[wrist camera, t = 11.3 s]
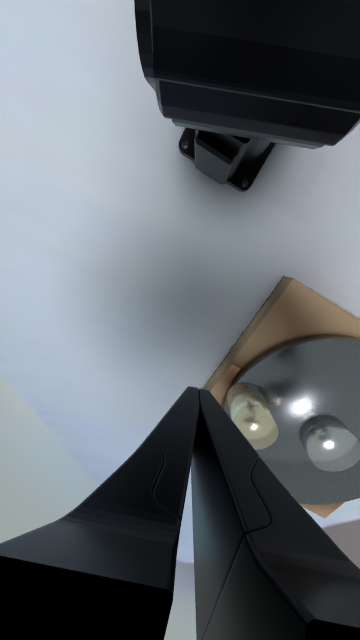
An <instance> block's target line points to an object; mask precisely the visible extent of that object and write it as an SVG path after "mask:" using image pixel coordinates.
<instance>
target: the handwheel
mask: <svg viewBox="0 0 360 640" xmlns="http://www.w3.org/2000/svg"><path fill="white" fill-rule="evenodd" d="M221 407H222V408H223V409H224V410H225V412H226V413H227V414H228V416H229V417H230V418H231V419H232V421H233V422H234V423H235V425H236V426H237V427H238V429H239V430H240V431H241V432H242V434H243V435H244V436H245V438H246V439H247V440H248V441H249V443H250V444H251V445H252V447H253V448H254V449H255V451H256V452H257V453H258V454H259V457H261V458H262V459H263V461H264V462H265V463H266V465H267V466H268V467H269V468H270V470H271V471H272V472H273V473H274V475H275V476H276V477H277V478H278V480H279V481H280V482H281V483H282V485H283V486H284V487H285V488H286V489H287V490H288V491H289V493H290V494H291V495H292V496H293V497H294V498H295V499H296V501H297V502H298V503H299V504H309V505H325V504H334V503H341V502H346V501H350V500H354V499H357V498H360V338H356V337H352V336H344V335H327V334H323V335H313V336H307V337H302V338H297V339H294V340H291V341H288V342H285V343H282V344H279V345H277V346H275V347H273V348H271V349H269V350H267V351H266V352H264V353H262V354H261V355H259V356H257V357H256V358H255V359H254V360H252V361H251V362H250V363H249V364H247V365H246V366H245V367H244V368H243V369H242V370H241V371H240V372H239V373H238V375H237V376H236V377H235V379H234V380H233V381H232V383H231V384H230V386H229V388H228V390H227V392H226V394H225V397H224V399H223V402H222V406H221Z"/></svg>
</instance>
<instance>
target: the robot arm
mask: <svg viewBox="0 0 360 640" xmlns="http://www.w3.org/2000/svg"><path fill="white" fill-rule="evenodd" d="M134 2H135V19H136V32H137V40H138V49H139V55H140V61H141V66H142V70H143V73H144V77H145V79H146V80H147V82H148V83H149V84H150V86H151V87H152V88H153V89H154V90H155V91H156V95H157V101H158V105H159V109H160V111H161V113H162V114H163V116H164V118H169V119H172V122H173V123H174V124H175V125H176V126H180V127H186V128H185V130H184V132H183V134H182V137H181V139H180V141H179V150H180V152H181V153H182V154H183V155H185V156H186V157H188V158H189V159H191V160H193V161H194V162H195V166H196V168H197V169H199V170H200V171H202V172H203V173H205V174H207V175H208V176H210V177H211V178H213V179H214V180H216V181H218V182H219V183H221V184H223V183H226V182H227V183H228V184H230V185H232V186H233V187H235V188H236V189H238V190H239V191H242V192H245V191H247V190H248V189H249V188H250V186H251V185H252V183H253V181H254V180H255V178H256V176H257V174H258V173H259V171H260V169H261V168H262V166H263V164H264V162H265V161H266V159H267V157H268V156H269V154H270V152H271V151H272V149H273V147H274V145H275V144H276V143H280V144H286V145H292V146H297V147H303V148H309V149H316V148H320V147H323V146H324V145H328V146H334V145H335V144H337V143H338V142H339V141H341V140H342V139H343V138H344V137H345V136H347V135H348V134H349V133H350V132H351V131H352V130H353V129H354V128H355V127H356V126H357V125H358V124H359V123H360V0H134ZM185 143H186V144H188V147H187V148H186V149H184V148H183V147H182V145H183V144H185ZM244 181H245V182H246V183H247V186H246V187H243V186H242V182H244ZM190 467H191V483H192V513H193V543H194V571H195V572H194V573H195V603H196V634H197V640H360V569H359V568H358V567H357V566H356V565H355V564H354V563H353V562H352V561H351V560H350V559H349V558H348V557H347V556H346V555H345V554H344V553H343V552H342V551H341V549H340V548H339V547H338V546H337V545H336V544H335V543H334V542H333V541H332V540H331V538H330V537H329V536H328V535H327V534H326V533H325V532H324V531H323V530H322V528H321V527H320V526H319V525H318V524H317V523H316V522H315V521H314V520H313V518H312V517H311V516H310V515H309V514H308V513H307V512H306V511H305V510H304V508H303V507H302V506H301V505H300V504H299V503H298V502H297V501H296V499H295V498H294V497H293V496H292V495H291V494H290V493H289V491H288V490H287V489H286V488H285V487H284V486H283V485H282V483H281V482H280V481H279V480H278V478H277V477H276V476H275V475H274V473H273V472H272V471H271V470H270V468H269V467H268V466H267V465H266V463H265V462H264V461H263V459H262V458H261V457H259V454H258V453H257V452H256V451H255V449H254V448H253V447H252V445H251V444H250V443H249V441H248V440H247V439H246V438H245V436H244V435H243V434H242V432H241V431H240V430H239V429H238V427H237V426H236V425H235V423H234V422H233V421H232V419H231V418H230V417H229V416H228V414H227V413H226V412H225V410H224V409H223V408H222V407H221V405H220V404H219V403H218V401H217V400H216V399H215V397H214V396H213V395H212V394H211V392H210V391H209V390H205V389H199V390H198V388H195V387H190V386H189V387H187V388H186V390H185V391H184V392H183V393H182V395H181V396H180V397H179V398H178V400H177V401H176V402H175V403H174V405H173V406H172V407H171V408H170V410H169V411H168V412H167V413H166V415H165V416H164V417H163V418H162V419H161V421H160V422H159V423H158V424H157V426H156V427H155V428H154V429H153V431H152V432H151V433H150V435H149V436H148V437H147V438H146V439H145V440H144V442H143V443H142V444H141V445H140V446H139V447H138V449H137V450H136V451H135V452H134V453H133V454H132V455H131V456H130V457H129V458H128V459H127V460H126V461H125V462H124V463H123V464H122V465H121V466H120V467H119V468H118V469H117V470H116V471H115V472H114V473H113V474H112V475H111V476H110V477H109V478H107V479H106V480H105V481H104V482H103V483H102V484H101V485H100V486H99V487H98V488H97V489H96V490H95V491H94V492H93V493H91V495H89V497H87V498H86V499H85V500H84V501H83V502H82V503H81V504H80V505H78V506H77V507H76V508H75V509H74V510H72V511H71V512H69V513H68V514H67V515H65V516H64V517H62V518H61V519H58V520H57V521H55V522H52V523H50V524H47V525H45V526H42V527H40V528H37V529H35V530H32V531H30V532H27V533H25V534H22V535H20V536H18V537H15V538H13V539H10V540H8V541H5V542H3V543H0V640H164V636H165V632H166V627H167V623H168V619H169V615H170V610H171V606H172V601H173V591H174V580H175V568H176V556H177V548H178V540H179V534H180V527H181V521H182V515H183V509H184V503H185V497H186V491H187V485H188V479H189V473H190Z"/></svg>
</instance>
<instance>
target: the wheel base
mask: <svg viewBox="0 0 360 640" xmlns="http://www.w3.org/2000/svg"><path fill="white" fill-rule="evenodd" d="M323 334H327V335H344V336H352V337H356V338H360V319H359V318H357V317H355V316H354V315H352V314H350V313H349V312H347V311H346V310H344V309H342V308H341V307H339V306H337V305H336V304H334V303H333V302H331V301H329V300H328V299H326V298H324V297H323V296H321V295H320V294H318V293H316V292H315V291H313V290H311V289H310V288H308V287H306V286H305V285H303V284H302V283H300V282H298V281H297V280H295V279H293V278H289V277H285V276H284V277H283V278H282V280H281V281H280V282H279V284H278V285H277V287H276V288H275V289H274V291H273V292H272V294H271V295H270V296H269V298H268V299H267V301H266V302H265V303H264V305H263V306H262V307H261V309H260V310H259V312H258V313H257V314H256V316H255V317H254V319H253V320H252V321H251V323H250V324H249V326H248V327H247V328H246V330H245V331H244V333H243V334H242V335H241V337H240V338H239V340H238V341H237V342H236V344H235V345H234V347H233V348H232V349H231V351H230V352H229V354H228V355H227V356H226V358H225V359H224V361H223V362H222V363H221V365H220V366H219V367H218V369H217V370H216V372H215V373H214V374H213V376H212V377H211V379H210V380H209V381H208V383H207V384H206V386H205V387H204V388H203V389H205V390H209V391H210V392H211V394H212V395H213V396H214V397H215V399H216V400H217V401H218V403H219V404H220V405H221V406H222V402H223V399H224V397H225V394H226V392H227V390H228V388H229V386H230V384H231V383H232V381H233V380H234V379H235V377H236V376H237V375H238V373H239V372H240V371H241V370H242V369H243V368H244V367H245V366H246V365H247V364H249V363H250V362H251V361H252V360H254V359H255V358H256V357H257V356H259V355H261V354H262V353H264V352H266V351H267V350H269V349H271V348H273V347H275V346H277V345H279V344H282V343H285V342H288V341H291V340H294V339H297V338H302V337H307V336H313V335H323ZM343 503H344V502H341V503H334V504H325V505H309V504H300V505H301V506H302V507H304V508H306V509H308V510H310V511H312V512H314V513H315V514H317V515H319V516H321V517H323V518H326V517H327V516H328V515H329V514H331V513H332V512H333V511H334V510H336V509H337V508H338V507H339V506H341V505H342V504H343Z"/></svg>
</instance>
